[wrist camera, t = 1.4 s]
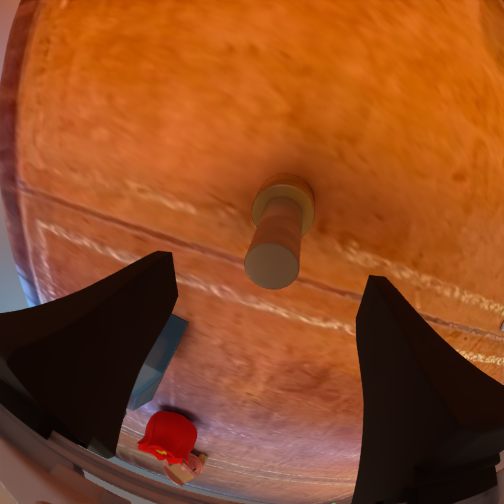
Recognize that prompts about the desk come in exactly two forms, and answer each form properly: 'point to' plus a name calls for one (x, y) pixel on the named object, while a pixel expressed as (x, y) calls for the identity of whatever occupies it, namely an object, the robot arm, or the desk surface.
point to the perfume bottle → (157, 362)
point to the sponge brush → (279, 230)
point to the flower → (169, 437)
